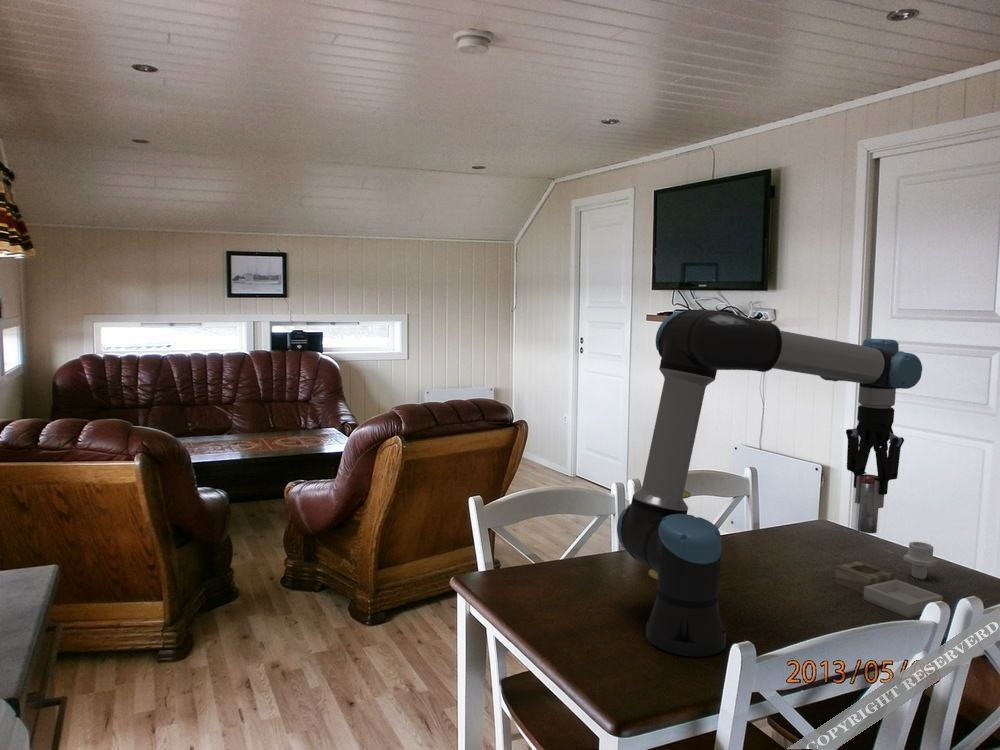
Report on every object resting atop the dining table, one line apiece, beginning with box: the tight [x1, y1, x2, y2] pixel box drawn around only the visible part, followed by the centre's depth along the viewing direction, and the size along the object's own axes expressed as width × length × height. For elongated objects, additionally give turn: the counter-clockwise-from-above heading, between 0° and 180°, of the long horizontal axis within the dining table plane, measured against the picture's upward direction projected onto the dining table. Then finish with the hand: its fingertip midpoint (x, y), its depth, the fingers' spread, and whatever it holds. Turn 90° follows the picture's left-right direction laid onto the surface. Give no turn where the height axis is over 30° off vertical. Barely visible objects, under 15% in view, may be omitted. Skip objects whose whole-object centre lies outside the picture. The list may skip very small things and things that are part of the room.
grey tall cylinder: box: [857, 473, 879, 534], centre depth 174 cm, size 4×4×13 cm
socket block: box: [834, 560, 896, 595], centre depth 176 cm, size 9×9×4 cm
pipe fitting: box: [902, 541, 938, 580], centre depth 182 cm, size 6×7×8 cm
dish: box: [863, 578, 944, 619], centre depth 165 cm, size 11×11×3 cm
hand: (869, 505), depth 174 cm, fingers closed on grey tall cylinder, 4 cm apart
